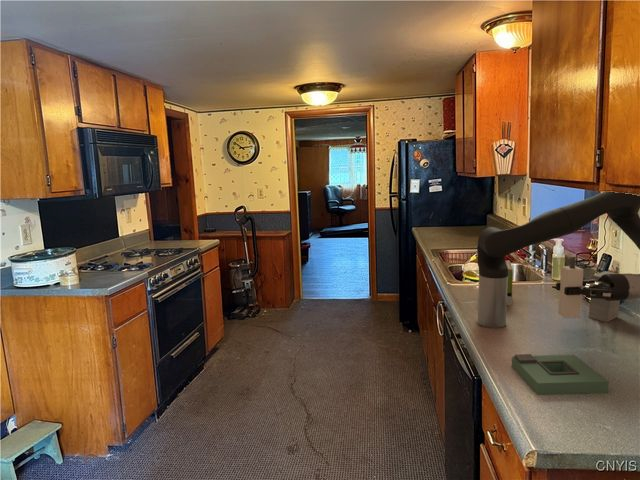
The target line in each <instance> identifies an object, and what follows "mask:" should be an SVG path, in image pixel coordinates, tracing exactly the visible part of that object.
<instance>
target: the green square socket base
mask: <svg viewBox="0 0 640 480" xmlns="http://www.w3.org/2000/svg"><path fill="white" fill-rule="evenodd" d="M511 368H512V369H513V370H514V371H515V372H516V373H517V374H518V375H519V376H520V378H522V380H523V379H524V380H523V381H524V382H525V383H526V384H527V385H528V386H529V387H530V389H532V390H533V392H534V393H535V394H536V395H541V396H543V395H571V394H573V395H575V394H576V395H577V394H606V393H607V394H608V392H609V383H610V380H608V379H606V378H605V377H604V376H602V375H601V374H600V373H599V372H597V371H596V370H595V369H594V368H592V367H591V366H590V365H589V364H588V363H586V362H585V361H583V360H582V359H581V358H579V357H578V356H577V355H576V354H552V355H551V354H549V355H548V354H547V355H532V354H531V353H529V354H526V353H525V354H524V353H522V354H520V353H519V354H514V355H512V357H511Z"/></svg>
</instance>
